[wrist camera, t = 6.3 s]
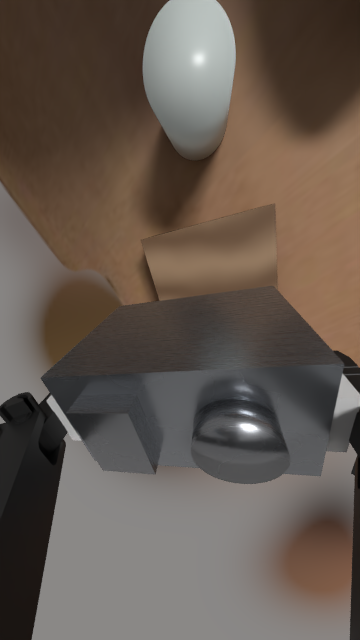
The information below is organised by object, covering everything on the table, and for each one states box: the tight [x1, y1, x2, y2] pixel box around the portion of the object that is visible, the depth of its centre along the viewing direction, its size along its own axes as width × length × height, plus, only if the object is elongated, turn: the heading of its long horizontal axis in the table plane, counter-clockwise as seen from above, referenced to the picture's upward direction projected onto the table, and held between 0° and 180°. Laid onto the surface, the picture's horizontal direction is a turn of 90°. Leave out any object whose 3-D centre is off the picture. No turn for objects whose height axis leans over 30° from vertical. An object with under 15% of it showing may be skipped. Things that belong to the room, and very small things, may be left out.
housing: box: [41, 286, 344, 484], centre depth 10 cm, size 10×6×8 cm, turn 101°
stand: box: [141, 204, 278, 301], centre depth 25 cm, size 14×14×4 cm
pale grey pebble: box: [143, 0, 236, 161], centre depth 16 cm, size 6×6×8 cm
